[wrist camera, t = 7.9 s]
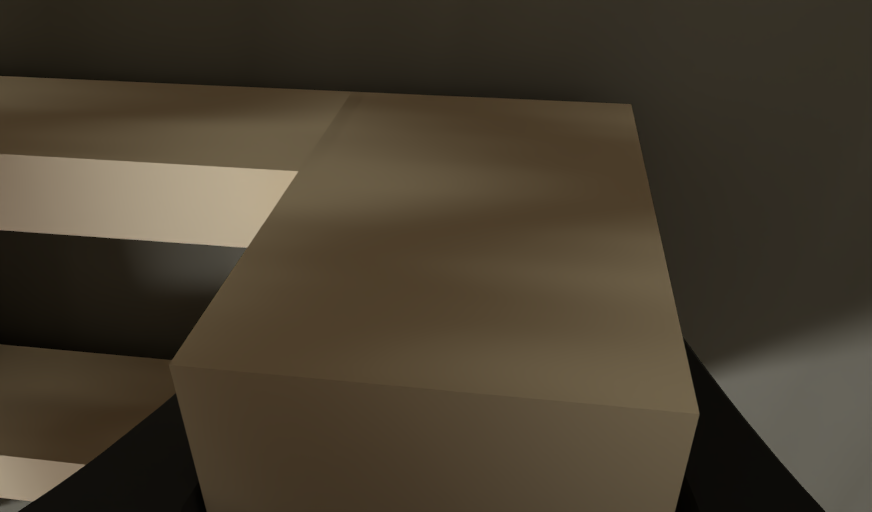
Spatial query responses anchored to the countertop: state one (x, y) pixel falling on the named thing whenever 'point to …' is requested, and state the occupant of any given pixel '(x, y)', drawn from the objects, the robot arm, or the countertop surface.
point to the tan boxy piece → (362, 297)
